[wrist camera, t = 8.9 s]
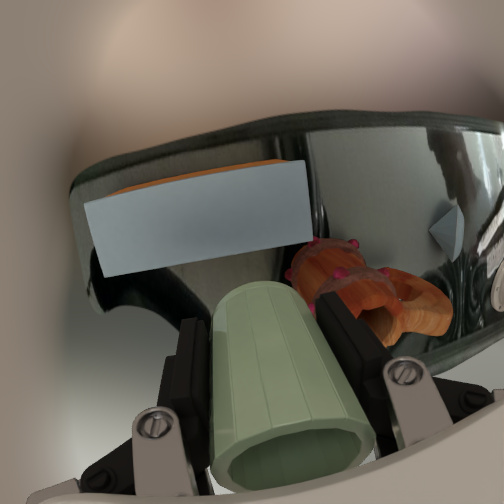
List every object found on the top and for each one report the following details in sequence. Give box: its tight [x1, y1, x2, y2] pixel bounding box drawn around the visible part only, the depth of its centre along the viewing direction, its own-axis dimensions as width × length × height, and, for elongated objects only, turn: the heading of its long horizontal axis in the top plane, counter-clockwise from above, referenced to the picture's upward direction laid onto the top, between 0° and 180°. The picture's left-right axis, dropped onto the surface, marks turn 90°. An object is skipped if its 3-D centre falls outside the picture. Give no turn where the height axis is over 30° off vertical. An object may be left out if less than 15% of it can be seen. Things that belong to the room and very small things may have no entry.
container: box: [84, 159, 313, 277], centre depth 25 cm, size 16×6×10 cm, turn 99°
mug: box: [285, 236, 453, 348], centre depth 27 cm, size 15×8×15 cm, turn 87°
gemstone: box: [429, 204, 464, 262], centre depth 32 cm, size 8×8×5 cm
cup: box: [209, 281, 376, 493], centre depth 9 cm, size 4×4×6 cm
